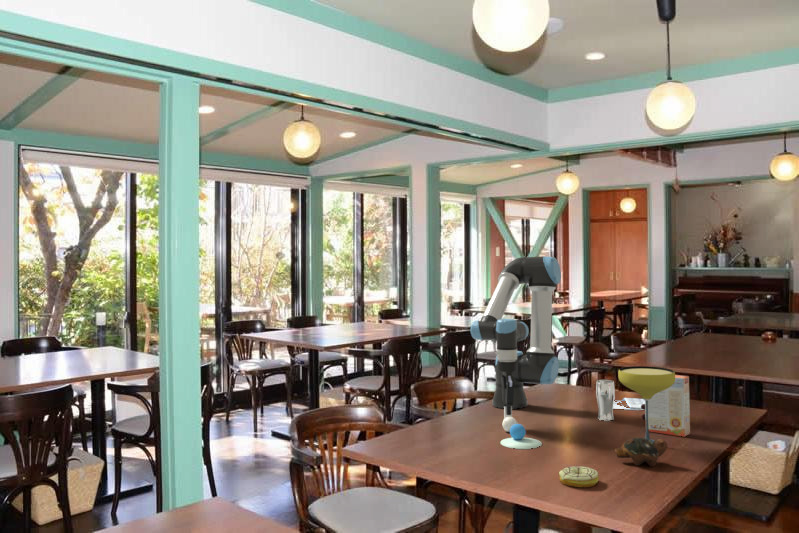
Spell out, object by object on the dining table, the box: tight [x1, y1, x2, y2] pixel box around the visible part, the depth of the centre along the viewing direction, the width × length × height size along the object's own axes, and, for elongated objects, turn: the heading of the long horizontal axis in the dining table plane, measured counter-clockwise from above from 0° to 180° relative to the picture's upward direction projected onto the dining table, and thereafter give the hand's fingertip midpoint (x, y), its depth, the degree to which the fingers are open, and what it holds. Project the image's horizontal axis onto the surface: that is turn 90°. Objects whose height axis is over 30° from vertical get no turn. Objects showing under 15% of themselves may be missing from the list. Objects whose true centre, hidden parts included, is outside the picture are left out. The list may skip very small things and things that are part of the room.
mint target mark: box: [500, 437, 543, 450], centre depth 224 cm, size 14×14×1 cm
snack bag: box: [613, 397, 645, 411], centre depth 279 cm, size 19×20×2 cm
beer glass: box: [595, 379, 616, 422], centre depth 255 cm, size 7×7×15 cm
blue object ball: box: [509, 423, 527, 440], centre depth 229 cm, size 6×6×6 cm
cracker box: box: [644, 374, 691, 438], centre depth 234 cm, size 14×6×21 cm, turn 47°
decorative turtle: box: [614, 437, 668, 468], centre depth 200 cm, size 10×15×8 cm, turn 80°
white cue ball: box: [501, 416, 518, 433], centre depth 240 cm, size 6×6×6 cm
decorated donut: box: [558, 465, 599, 489], centre depth 184 cm, size 10×11×4 cm
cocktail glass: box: [617, 365, 676, 443], centre depth 220 cm, size 18×18×25 cm
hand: (508, 422), depth 245 cm, fingers closed
